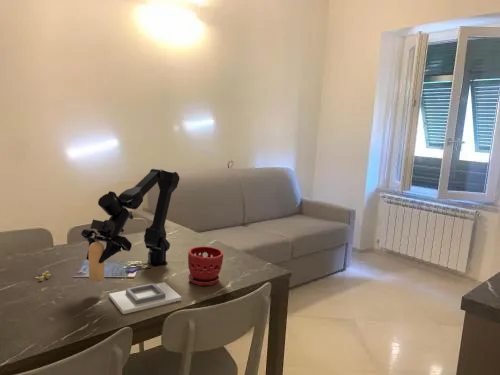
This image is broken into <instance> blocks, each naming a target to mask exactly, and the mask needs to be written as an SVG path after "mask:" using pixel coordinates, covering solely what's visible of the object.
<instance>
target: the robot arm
mask: <svg viewBox="0 0 500 375" xmlns="http://www.w3.org/2000/svg"><path fill="white" fill-rule="evenodd" d="M179 182H180V176H179V173H178V172H177V171H172V170H171V171H170V170H164V169H162V168H155V167H154V168H151V169H150V170H149V172H148V173H147V174H146V175H145V176H144V177H143V178H142V179H141V180H140V181H139V182H138V183H137V184H135V185H134V186H133V187H131V188H128V189H126V190H124V191H122V192H121V193H120V194H119V195H118V196H117V194H116V192H115V191H111V190H109V191H108V192H107V193H105V194H103V195H102V196H101V197H99V199H98V200H97V204H98V206H99V207H100V208H101V209H102V211H104V213H106V214H107V215H108V216H110V217H109V218H108V219H105V220H104V221H102V220H97V219H92V222H91V225H90V227H89V228H84V229H83V230H82V231H81V233H80V236H81V237H82V238H84V239H85V240H86V241H87V242H88V249H87V254H86V257H85V258H86V260H87V261H89V246H90V245H91V244H92V243H94V242H104V243H106V244H105V247H104V252H103V254H102V255H101V257H100V259H99V263H100V264H101V263H102V262H104V263H105V261H106V260H108V259H109V258H111V257H112V256H115V255H116V254H117V253H119V252H120V253H121V252H122V251H125V252H130V251H131V249H132V242H131V241H130V240H129V239H128V238H127V237H126V236H122V235H120V233H122V234H123V233H124V231H125V229H124V228H125V225H126V223H127V221H129V220H133V219H134V216H133V211H130V210H137V209H139V207H140V206H141V204H142V203H143V201H144V197H145V196H146V194H147V193H149V191H151V189H153V187H154V186H155V185H156V184H157V186H158V189H159V193H158V198H157V203H156V206H155V211H154V213H153V214H154V216H153V220H152V224H151V225H150V226H149V227H146V228H145V233H144V236H143V242H144V245H145V249H149V250H148V252H147V262H148V263H149V264H150V265H151V266H152V267H155V266H162V265H167V264H168V261H167V252H168V251H169V249H170V247H171V243H170V242H169V241H168V240H167V232H166V228H165V225H166V222H167V221H166V219H167V216H168V211H169V207H170V202H171V198H172V193H174V191H175V190H177V188H178V185H179ZM129 209H130V210H129ZM95 230H96V231H95Z"/></svg>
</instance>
